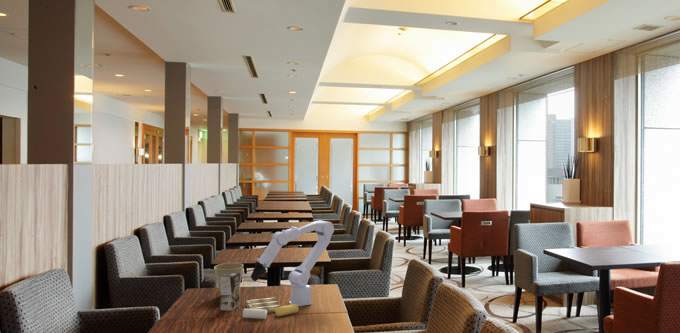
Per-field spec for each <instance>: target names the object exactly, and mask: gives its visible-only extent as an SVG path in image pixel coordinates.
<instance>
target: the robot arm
mask: <svg viewBox="0 0 680 333" xmlns="http://www.w3.org/2000/svg"><path fill="white" fill-rule="evenodd" d="M314 231H315V233H316V235H317V238H318V240H317V242H316V243H315V244H314V246H313V247H312V248H311V250H310V252H309V253H308V254H307V256H306V257H305V258H304V260H303V261H302V263H300V265H298V266H296V267H295V268H294V269H293V270H291V271H290V273H289V275H288V281H289V283H290V300H289V301H288V303H289V305H292V304H297V305H298V307H303V306H310V305H312V300H311V299H312V297H311V296H312V294H311V293H312V290H311V286H310V285H309V284H308V282H309V279H310V278H311V272H310V271H312V269H313V267H314V266H315V264H316V263H317V261H318V260H319V259H320V257H321V256H322V254H324V252H325V250H326V249H327V247H328V246H329V244H330V242H331V238H332V235H333V234H334V232H335V227H334V224H333V222H331V221H325V220H322V219H318V220H314V221H312V222H310V223H308V224H305V225H303V226H300V227H296V226H290V228H287V229H282V230H281V231H276V232H274V233H273V234H272V236H271V240H270V242H269V244H268V245H267V247H266V249H265V250H264V251H263V253H262V254H261V256H260V257H259V258H258V257H256V260H257V261H255V265H254V267H253V269H252V270H253V271H252V273H251V275H250V278H251V280H252V281H254V282H256V281H258V280H259V278H260V277H261V276H263V275H264V274H266V273H267V272H268V270H267V268H270V266H271V264H272V262H273V261H274V260H275V258H276V257H277V255H278V253H279V252H280V250H281V249H282V247H284V246H285V245H287V244H288V243H289V242H291V241H294V240H297V239H300V237H301V235H303V234H306V233H307V234H308V233H310V232H314Z"/></svg>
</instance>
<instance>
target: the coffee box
mask: <svg viewBox="0 0 680 333" xmlns="http://www.w3.org/2000/svg"><path fill="white" fill-rule="evenodd" d="M240 306H241V283H240V273H237V272H232V273H231V272H228V273H227V274H225V275H223V276H221V293H220V310H221V311H229V312H233V311H234V310H235V309H237V308H238V307H240Z"/></svg>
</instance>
